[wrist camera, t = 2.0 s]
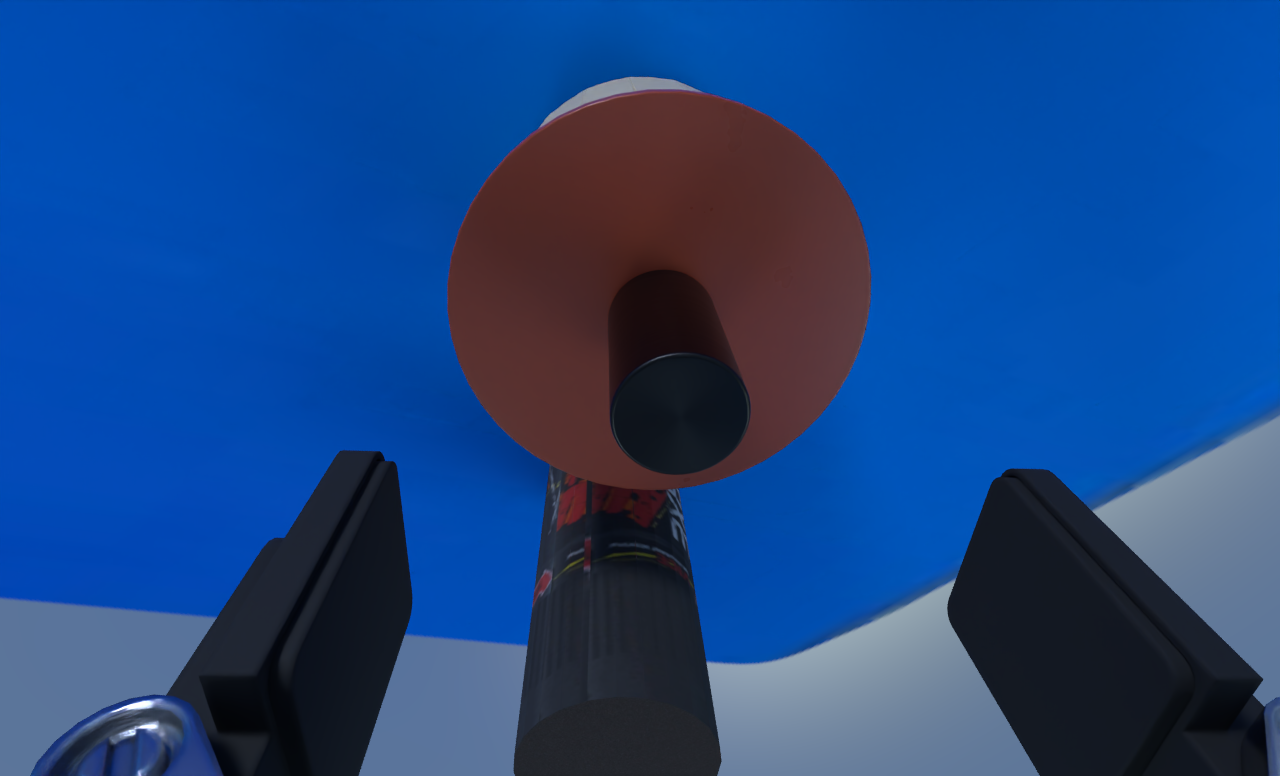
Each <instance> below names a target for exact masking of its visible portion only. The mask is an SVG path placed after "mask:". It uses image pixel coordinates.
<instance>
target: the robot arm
mask: <svg viewBox="0 0 1280 776" xmlns="http://www.w3.org/2000/svg"><path fill="white" fill-rule="evenodd" d="M947 609H948V617H949V620H950V623H951V625H952V627H953V629H954V630H955V632H956V634H957V636H958V637H959V639H960V641H961V642H962V644H963V646H964V647H965V649H966V651H967V652H968V654H969V656H970V658H971V659H972V661H973V662H974V664H975V666H976V668H977V669H978V671H979V673H980V675H981V676H982V678H983V680H984V681H985V683H986V685H987V687H988V688H989V690H990V692H991V693H992V695H993V697H994V698H995V700H996V702H997V704H998V705H999V707H1000V709H1001V710H1002V712H1003V714H1004V715H1005V717H1006V719H1007V721H1008V722H1009V724H1010V726H1011V727H1012V729H1013V730H1014V732H1015V734H1016V736H1017V738H1018V739H1019V741H1020V743H1021V744H1022V746H1023V748H1024V749H1025V751H1026V753H1027V754H1028V756H1029V758H1030V760H1031V761H1032V763H1033V765H1034V766H1035V768H1036V770H1037V772H1038V773H1039V775H1040V776H1280V697H1278V698H1275V699H1274V700H1272V701H1270V702H1269V703H1268V704H1266V706H1265V707H1264V706H1263V705H1262V704H1261V703H1260V702H1259V701H1258V700H1257V699H1256V698H1255V697H1254V696H1253V693H1254V692H1255V691H1256V689H1257V688H1258V686H1259V685H1260V684H1261V682H1262V681H1263V678H1262V677H1260V676H1259V675H1258V674H1257V673H1256V672H1255V671H1254V670H1253V669H1252V668H1251V667H1250V666H1249V665H1248V664H1247V663H1246V662H1245V661H1244V660H1243V659H1242V658H1241V657H1240V656H1239V655H1238V654H1237V653H1236V652H1235V651H1234V650H1233V649H1232V648H1231V647H1230V646H1229V645H1228V644H1227V643H1226V642H1225V641H1224V640H1223V639H1222V638H1221V637H1220V636H1219V635H1218V634H1217V633H1216V632H1214V630H1213V629H1212V628H1211V627H1209V626H1208V625H1207V624H1206V623H1205V622H1204V621H1203V620H1202V619H1201V618H1200V617H1199V616H1198V615H1197V614H1196V613H1195V612H1194V611H1193V610H1192V609H1191V608H1190V607H1189V606H1188V605H1187V604H1186V603H1185V602H1184V601H1183V600H1182V599H1181V598H1180V597H1179V596H1178V595H1177V594H1176V593H1175V592H1174V591H1172V589H1171V588H1170V587H1169V586H1168V585H1167V584H1166V583H1165V582H1164V581H1163V580H1162V579H1161V578H1159V577H1158V576H1157V575H1156V574H1155V573H1154V572H1153V571H1152V570H1151V569H1150V568H1149V567H1148V566H1147V565H1146V564H1145V563H1144V562H1143V561H1142V560H1141V559H1140V558H1139V557H1138V556H1137V555H1136V554H1135V553H1134V552H1133V551H1132V550H1131V549H1130V548H1129V547H1128V546H1127V545H1126V544H1125V543H1124V542H1123V541H1122V540H1121V539H1120V538H1119V537H1118V536H1117V535H1116V534H1115V533H1114V532H1113V531H1112V530H1111V529H1110V528H1108V527H1107V526H1106V525H1105V524H1104V523H1103V522H1102V521H1101V520H1100V519H1099V518H1098V517H1097V516H1096V515H1095V514H1094V513H1093V512H1092V511H1091V510H1090V509H1089V508H1088V507H1087V506H1086V505H1085V504H1084V503H1083V502H1082V501H1081V500H1080V499H1079V498H1078V497H1077V496H1076V495H1075V494H1074V493H1073V492H1072V491H1071V490H1070V489H1069V488H1068V487H1067V486H1066V485H1065V484H1064V483H1063V482H1062V481H1061V480H1060V479H1058V478H1057V477H1056V476H1055V475H1054V474H1053V473H1052V472H1050V471H1049V470H1044V469H1009V470H1006V471H1005V472H1004V473H1003V474H1002V476H1001V477H999V478H996V479H995V480H994V481H993V482H992V484H991V486H990V489H989V491H988V494H987V497H986V499H985V502H984V505H983V508H982V510H981V513H980V516H979V518H978V521H977V524H976V527H975V529H974V532H973V535H972V538H971V540H970V543H969V546H968V548H967V551H966V554H965V557H964V559H963V562H962V565H961V567H960V570H959V573H958V576H957V578H956V581H955V584H954V587H953V589H952V592H951V595H950V597H949V601H948V607H947ZM411 610H412V588H411V580H410V572H409V563H408V555H407V547H406V538H405V530H404V522H403V513H402V505H401V496H400V488H399V480H398V471H397V466H396V464H395V462H393V461H385V459H384V456H383V454H382V453H381V452H380V451H344V450H343V451H340V452H339V453H338V454H337V455H336V457H335V458H334V460H333V462H332V463H331V465H330V466H329V468H328V470H327V471H326V473H325V474H324V476H323V478H322V479H321V481H320V482H319V484H318V486H317V487H316V489H315V490H314V492H313V494H312V495H311V497H310V498H309V500H308V501H307V503H306V505H305V506H304V508H303V509H302V511H301V513H300V514H299V516H298V517H297V519H296V521H295V522H294V524H293V525H292V527H291V529H290V530H289V532H288V533H287V535H286V537H285V538H274V539H272V540H270V541H269V542H268V543H267V544H266V545H265V546H264V547H263V549H262V550H261V552H260V553H259V555H258V556H257V558H256V559H255V561H254V562H253V564H252V565H251V567H250V568H249V570H248V571H247V573H246V574H245V576H244V577H243V579H242V581H241V582H240V584H239V585H238V587H237V588H236V590H235V591H234V593H233V594H232V596H231V597H230V599H229V600H228V602H227V603H226V605H225V606H224V608H223V609H222V611H221V612H220V614H219V616H218V617H217V619H216V620H215V622H214V623H213V625H212V626H211V628H210V629H209V631H208V632H207V634H206V635H205V637H204V639H203V640H202V641H201V643H200V644H199V646H198V647H197V649H196V651H195V652H194V654H193V655H192V657H191V658H190V660H189V661H188V663H187V664H186V666H185V667H184V669H183V670H182V672H181V673H180V675H179V677H178V678H177V680H176V681H175V683H174V684H173V686H172V687H171V689H170V690H169V692H168V693H167V695H166V696H165V695H149V696H143V697H137V698H131V699H128V700H125V701H122V702H119V703H117V704H114V705H111V706H109V707H106V708H103V709H102V710H100V711H98V712H96V713H95V714H93V715H91V716H89V717H87V718H86V719H84V720H82V721H81V722H79V723H77V724H76V725H75V726H74V727H73V728H71V729H70V730H69V731H67V732H66V733H65V734H63V735H62V736H61V737H60V738H59V739H57V740H56V741H55V742H54V743H53V744H52V745H51V747H50V748H49V749H48V750H47V751H46V752H45V754H44V755H43V756H42V757H41V758H40V759H39V760H38V762H37V764H36V765H35V767H34V769H33V771H32V773H31V775H30V776H358V775H359V772H360V769H361V766H362V763H363V760H364V757H365V754H366V750H367V748H368V745H369V742H370V738H371V735H372V732H373V729H374V726H375V723H376V720H377V717H378V714H379V711H380V708H381V705H382V702H383V699H384V696H385V693H386V690H387V686H388V683H389V680H390V677H391V674H392V671H393V668H394V665H395V662H396V659H397V656H398V653H399V650H400V647H401V643H402V641H403V638H404V635H405V632H406V629H407V626H408V623H409V619H410V615H411Z"/></svg>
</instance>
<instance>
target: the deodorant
mask: <svg viewBox="0 0 1280 776" xmlns="http://www.w3.org/2000/svg"><path fill="white" fill-rule="evenodd" d="M720 764H721V753H720V746H719V739H718V732H717V726H716V720H715V714H714V707H713V702H712V695H711V689H710V682H709V676H708V670H707V664H706V657H705V651H704V645H703V639H702V632H701V626H700V620H699V614H698V607H697V601H696V595H695V589H694V582H693V576H692V570H691V563H690V557H689V551H688V545H687V538H686V532H685V526H684V520H683V513H682V507H681V501H680V495H679V488H677V489H666V490H639V489H626V488H619V487H614V486H609V485H603V484H599V483H595V482H592V481H589V480H585V479H582V478H579V477H576V476H574V475H571V474H569V473H567V472H564V471H562V470H560V469H557V468H555V467H553V466H552V465H550V467H549V476H548V484H547V492H546V500H545V508H544V517H543V525H542V533H541V541H540V550H539V558H538V566H537V574H536V582H535V591H534V599H533V607H532V615H531V623H530V632H529V640H528V648H527V656H526V665H525V674H524V681H523V690H522V697H521V706H520V714H519V722H518V730H517V738H516V746H515V755H514V774H515V776H717V774H718V771H719V767H720Z"/></svg>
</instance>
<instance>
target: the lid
mask: <svg viewBox="0 0 1280 776" xmlns="http://www.w3.org/2000/svg"><path fill="white" fill-rule="evenodd" d="M870 296H871V271H870V262H869V253H868V247H867V244H866V240H865V236H864V232H863V228H862V224H861V222H860V219H859V217H858V215H857V212H856V210H855V208H854V205H853V203H852V201H851V198H850V197H849V195H848V193H847V192H846V190H845V189H844V187H843V185H842V184H841V182H840V180H839V179H838V177H837V175H836V174H835V173H834V172H833V171H832V169H831V168H830V167H829V166H828V165H827V163H826V162H825V161H824V160H823V159H822V157H821V156H820V155H819V154H818V153H817V152H816V151H815V150H814V149H813V148H812V147H811V146H809V145H808V144H807V143H806V142H805V141H804V140H803V139H801V138H800V137H799V136H798V135H797V134H796V133H794V132H793V131H791V130H790V129H788V128H787V127H785V126H784V125H782V124H780V123H779V122H777V121H776V120H774V119H773V118H771V117H770V116H768V115H766V114H764V113H762V112H760V111H757V110H755V109H753V108H751V107H749V106H746V105H744V104H742V103H740V102H737V101H734V100H730V99H727V98H723V97H720V96H716V95H713V94H709V93H702V92H695V91H688V90H681V89H647V90H640V91H633V92H627V93H620V94H615V95H612V96H608V97H605V98H601V99H598V100H595V101H591V102H588V103H585V104H583V105H581V106H579V107H577V108H574V109H572V110H570V111H568V112H566V113H564V114H561V115H559V116H557V117H556V118H554V119H553V120H551V121H550V122H548V123H547V124H545V125H543V126H542V127H540V128H539V129H537V130H536V131H534V132H533V133H531V134H530V135H529V136H528V137H527V138H526V139H524V140H523V141H522V142H521V143H520V144H519V145H518V146H516V147H515V148H514V149H513V150H512V151H511V152H509V154H508V155H507V156H506V157H505V158H504V159H503V161H502V162H501V163H500V164H499V165H498V166H497V167H496V169H495V170H494V171H493V172H492V173H491V174H490V176H489V177H488V178H487V180H486V181H485V183H484V185H483V186H482V188H481V189H480V191H479V192H478V194H477V195H476V197H475V199H474V200H473V202H472V203H471V205H470V207H469V210H468V212H467V214H466V216H465V218H464V220H463V223H462V225H461V227H460V229H459V232H458V236H457V239H456V243H455V246H454V249H453V253H452V256H451V263H450V270H449V277H448V317H449V324H450V331H451V337H452V340H453V344H454V347H455V351H456V354H457V358H458V361H459V363H460V366H461V368H462V370H463V372H464V374H465V377H466V379H467V381H468V383H469V385H470V387H471V388H472V390H473V392H474V393H475V395H476V397H477V398H478V400H479V401H480V403H481V405H482V406H483V407H484V409H485V410H486V411H487V412H488V413H489V415H490V416H491V417H492V418H493V420H494V421H495V422H496V423H497V424H498V425H499V426H500V427H501V428H502V429H503V430H504V431H505V432H506V433H507V434H508V435H509V436H510V437H511V438H512V439H513V440H514V441H515V442H517V443H518V444H519V445H521V446H522V447H523V448H525V449H526V450H527V451H529V452H530V453H532V454H533V455H534V456H536V457H538V458H539V459H541V460H543V461H545V462H546V463H548V464H550V465H552V466H553V467H555V468H557V469H560V470H562V471H564V472H567V473H569V474H571V475H574V476H576V477H579V478H582V479H585V480H589V481H592V482H595V483H599V484H603V485H609V486H614V487H619V488H626V489H639V490H666V489H677V488H685V487H692V486H697V485H701V484H705V483H709V482H714V481H718V480H721V479H723V478H726V477H729V476H732V475H734V474H737V473H740V472H742V471H744V470H746V469H748V468H750V467H752V466H754V465H757V464H759V463H761V462H763V461H764V460H766V459H767V458H769V457H771V456H772V455H774V454H775V453H777V452H779V451H780V450H782V449H783V448H785V447H786V446H787V445H788V444H790V443H791V442H792V441H793V440H795V439H796V438H797V437H798V436H800V435H801V434H802V433H803V432H804V431H805V430H806V429H807V428H808V427H809V426H810V425H811V424H812V423H813V422H814V421H815V420H816V419H817V418H818V417H819V416H820V415H821V414H822V412H823V411H824V410H825V409H826V407H827V406H828V405H829V404H830V402H831V401H832V400H833V399H834V397H835V396H836V394H837V393H838V391H839V389H840V388H841V386H842V384H843V383H844V381H845V380H846V378H847V376H848V374H849V372H850V370H851V368H852V366H853V363H854V361H855V359H856V357H857V355H858V352H859V349H860V346H861V343H862V339H863V336H864V333H865V330H866V325H867V319H868V313H869V307H870Z"/></svg>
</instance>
